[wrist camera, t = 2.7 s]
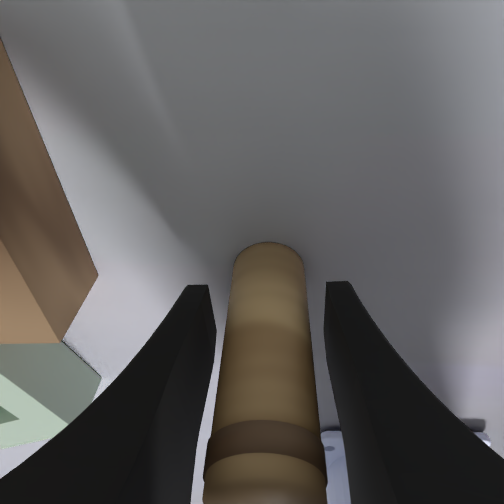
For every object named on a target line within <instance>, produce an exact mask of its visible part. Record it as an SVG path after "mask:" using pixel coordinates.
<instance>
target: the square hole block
mask: <svg viewBox="0 0 504 504" xmlns="http://www.w3.org/2000/svg"><path fill="white" fill-rule="evenodd" d="M97 277H98V274H97V271H96V269H95V266H94V264H93V261H92V259H91V257H90V254H89V252H88V249H87V247H86V244H85V242H84V240H83V237H82V235H81V232H80V230H79V228H78V225H77V223H76V220H75V218H74V215H73V213H72V211H71V208H70V206H69V203H68V201H67V198H66V196H65V194H64V191H63V189H62V186H61V184H60V182H59V179H58V177H57V174H56V172H55V169H54V167H53V165H52V162H51V160H50V157H49V155H48V152H47V150H46V148H45V145H44V143H43V140H42V138H41V136H40V133H39V131H38V128H37V126H36V123H35V121H34V119H33V116H32V114H31V111H30V109H29V106H28V104H27V102H26V99H25V97H24V94H23V92H22V90H21V87H20V85H19V82H18V80H17V77H16V75H15V73H14V70H13V68H12V65H11V63H10V60H9V58H8V56H7V53H6V51H5V48H4V46H3V44H2V41H1V39H0V344H34V343H60V342H61V341H62V339H63V337H64V335H65V334H66V332H67V330H68V328H69V327H70V325H71V323H72V321H73V320H74V318H75V316H76V314H77V313H78V311H79V309H80V307H81V305H82V304H83V302H84V300H85V298H86V297H87V295H88V293H89V291H90V290H91V288H92V286H93V284H94V283H95V281H96V279H97Z"/></svg>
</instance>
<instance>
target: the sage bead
mask: <svg viewBox="0 0 504 504" xmlns="http://www.w3.org/2000/svg"><path fill="white" fill-rule="evenodd" d="M101 379H102V378H101V377H100V376H99V375H98V374H97V373H96V372H95V371H94V370H93V369H91V368H90V367H89V366H88V365H87V364H86V363H85V362H84V361H83V360H82V359H80V358H79V357H78V356H77V355H76V354H75V353H74V352H73V351H72V350H70V349H69V348H68V347H67V346H66V345H65V344H64V343H63V342H62V341H61V342H60V343H34V344H0V449H5V448H9V447H14V446H18V445H23V444H28V443H32V442H37V441H42V440H46V439H51V438H53V437H54V436H56V435H57V434H58V433H59V432H60V431H62V430H63V429H64V428H65V427H66V426H67V425H69V424H70V423H71V422H72V421H73V420H74V419H75V418H76V417H77V416H78V415H80V414H81V413H82V412H83V411H84V410H85V409H86V408H87V407H88V406H89V405H90V404H91V403H92V400H93V398H94V396H95V393H96V391H97V389H98V386H99V384H100V381H101Z"/></svg>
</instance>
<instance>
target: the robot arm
mask: <svg viewBox="0 0 504 504" xmlns="http://www.w3.org/2000/svg"><path fill="white" fill-rule="evenodd" d="M216 333H217V330H216V325H215V319H214V314H213V309H212V304H211V298H210V293H209V288H208V285H187V286H186V287H185V289H184V290H183V292H182V293H181V295H180V296H179V298H178V299H177V301H176V302H175V304H174V305H173V307H172V308H171V310H170V311H169V313H168V314H167V315H166V317H165V318H164V320H163V321H162V322H161V324H160V325H159V326H158V328H157V329H156V331H155V332H154V333H153V335H152V336H151V337H150V339H149V340H148V341H147V342H146V344H145V345H144V346H143V347H142V349H141V350H140V351H139V352H138V353H137V355H136V356H135V357H134V358H133V359H132V361H131V362H130V363H129V364H128V365H127V367H126V368H125V369H124V370H123V371H122V372H121V373H120V374H119V376H118V377H117V378H116V379H115V380H114V381H113V382H112V383H111V384H110V385H109V386H108V387H107V388H106V389H105V390H104V391H103V392H102V393H101V394H100V395H99V396H98V397H97V398H96V399H95V400H94V401H93V402H92V403H91V404H90V405H89V406H88V407H87V408H86V409H85V410H84V411H83V412H82V413H81V414H80V415H78V416H77V417H76V418H75V419H74V420H73V421H72V422H71V423H70V424H69V425H67V426H66V427H65V428H64V429H63V430H62V431H60V432H59V433H58V434H57V435H56V436H54V437H53V438H52V439H51V440H50V441H48V442H47V443H46V444H45V445H44V446H42V447H41V448H40V449H39V450H38V451H36V452H35V453H34V454H33V455H31V456H30V457H29V458H28V459H26V460H25V461H24V462H23V463H21V464H20V465H19V466H17V467H16V468H14V469H13V470H12V471H10V472H9V473H8V474H6V475H5V476H4V477H2V478H1V479H0V504H190V502H191V492H192V482H193V474H194V465H195V456H196V448H197V442H198V436H199V431H200V426H201V421H202V417H203V412H204V407H205V402H206V398H207V393H208V388H209V383H210V379H211V374H212V369H213V364H214V356H215V345H216ZM324 339H325V349H326V359H327V365H328V370H329V375H330V380H331V384H332V389H333V394H334V399H335V403H336V408H337V413H338V418H339V422H340V427H341V431H325V432H322V433H321V441H322V443H323V445H324V449H325V458H326V468H327V477H328V484H327V487H326V493H327V504H504V459H503V458H502V457H501V456H500V455H498V454H497V453H496V452H495V451H494V450H492V449H491V448H490V445H491V441H490V438H489V436H488V435H487V434H485V433H483V432H472V431H471V430H470V429H469V428H468V427H467V426H466V425H465V424H464V423H463V422H461V421H460V420H459V419H458V418H457V417H456V416H455V415H454V414H453V413H452V412H451V411H450V410H449V409H448V408H447V407H446V406H445V405H444V404H443V403H442V402H441V401H440V400H439V399H438V398H437V397H436V396H435V395H434V394H433V393H432V392H431V391H430V390H429V389H428V388H427V387H426V386H425V384H424V383H423V382H422V381H421V380H420V379H419V378H418V377H417V376H416V375H415V373H414V372H413V371H412V370H411V369H410V368H409V366H408V365H407V364H406V363H405V362H404V360H403V359H402V358H401V357H400V356H399V354H398V353H397V352H396V351H395V349H394V348H393V347H392V345H391V344H390V343H389V342H388V340H387V339H386V338H385V336H384V335H383V333H382V332H381V331H380V329H379V328H378V327H377V325H376V324H375V322H374V321H373V319H372V318H371V316H370V315H369V313H368V312H367V310H366V309H365V307H364V306H363V304H362V302H361V301H360V299H359V298H358V296H357V294H356V292H355V291H354V289H353V287H352V285H351V284H350V283H349V282H348V281H334V282H326V297H325V314H324Z"/></svg>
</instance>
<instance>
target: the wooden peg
mask: <svg viewBox="0 0 504 504" xmlns="http://www.w3.org/2000/svg"><path fill="white" fill-rule="evenodd" d="M203 480H204V482H205V483H204V491H203V499H202V500H203V503H204V504H327V493H326V487H327V484H328V477H327V468H326V458H325V449H324V445H323V443H322V441H321V433H320V423H319V413H318V403H317V393H316V383H315V373H314V362H313V352H312V342H311V332H310V322H309V312H308V302H307V292H306V282H305V272H304V265H303V262H302V259H301V258H300V256H299V255H298V254H297V253H296V252H295V251H294V250H292V249H291V248H289V247H287V246H285V245H282V244H279V243H272V242H265V243H258V244H255V245H252V246H250V247H248V248H246V249H245V250H243V251H242V252H241V253H240V254H239V255H238V257H237V258H236V260H235V263H234V268H233V275H232V283H231V290H230V297H229V305H228V312H227V320H226V327H225V335H224V342H223V349H222V357H221V364H220V372H219V379H218V387H217V394H216V401H215V409H214V416H213V424H212V431H211V437H210V439H209V440H208V443H207V450H206V457H205V465H204V472H203Z"/></svg>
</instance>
